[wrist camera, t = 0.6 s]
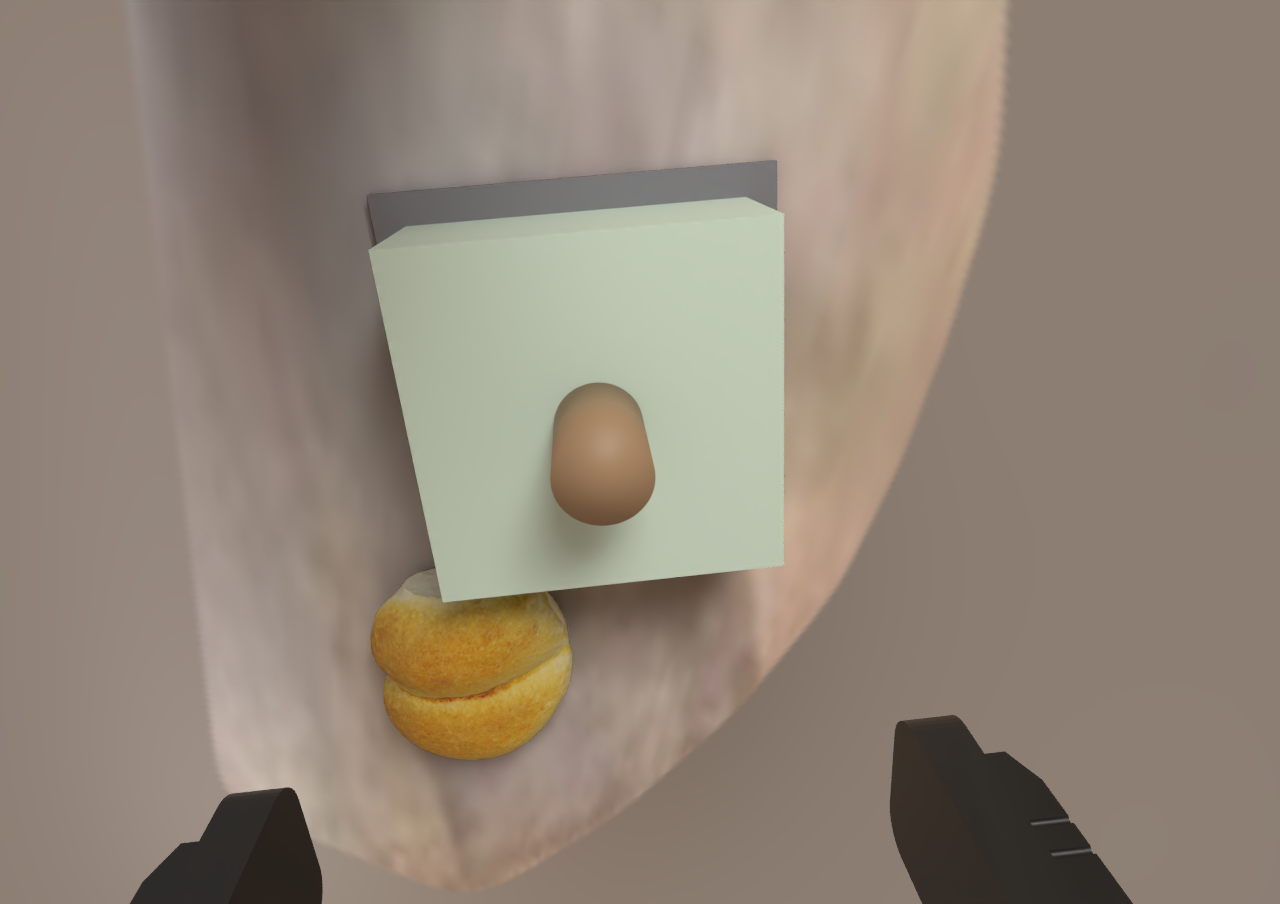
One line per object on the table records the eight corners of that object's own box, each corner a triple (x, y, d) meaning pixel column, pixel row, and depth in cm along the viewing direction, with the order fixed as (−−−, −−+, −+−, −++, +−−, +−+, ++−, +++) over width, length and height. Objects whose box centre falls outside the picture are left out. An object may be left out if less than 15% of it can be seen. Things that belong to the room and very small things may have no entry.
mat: (369, 194, 26) (366, 195, 26) (774, 160, 27) (776, 160, 26) (442, 548, 32) (440, 553, 32) (775, 513, 32) (777, 517, 32)
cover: (405, 226, 26) (326, 276, 18) (746, 196, 27) (826, 232, 18) (463, 527, 31) (421, 680, 23) (751, 497, 32) (817, 636, 23)
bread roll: (402, 731, 36) (382, 801, 32) (367, 566, 32) (340, 623, 29) (580, 716, 36) (580, 782, 33) (564, 551, 33) (562, 605, 29)
